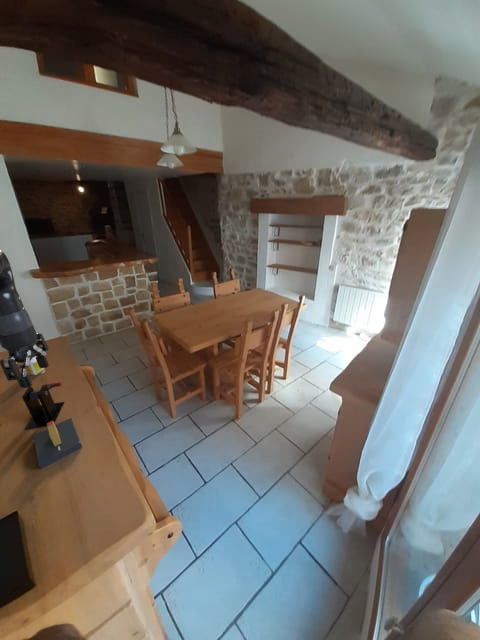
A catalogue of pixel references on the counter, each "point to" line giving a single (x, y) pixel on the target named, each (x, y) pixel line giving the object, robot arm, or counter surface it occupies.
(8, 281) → the robot arm
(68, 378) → the counter surface
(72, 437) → the lock plate
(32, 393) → the latch lever
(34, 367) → the supplement bottle
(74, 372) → the counter surface
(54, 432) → the yellow flat block
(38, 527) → the counter surface
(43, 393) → the latch bracket
